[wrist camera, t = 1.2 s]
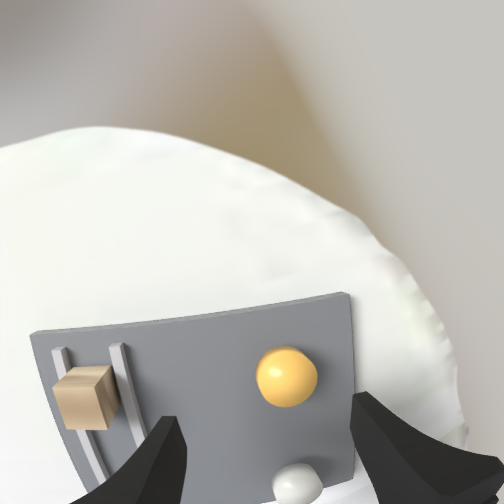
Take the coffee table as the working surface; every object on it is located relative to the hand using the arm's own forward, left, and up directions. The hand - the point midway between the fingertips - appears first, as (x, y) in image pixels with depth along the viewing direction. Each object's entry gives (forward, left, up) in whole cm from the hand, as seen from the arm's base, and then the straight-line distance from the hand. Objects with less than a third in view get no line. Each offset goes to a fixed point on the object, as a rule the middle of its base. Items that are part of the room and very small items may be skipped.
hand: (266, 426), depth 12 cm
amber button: (-1, -3, -8) cm, 9 cm away
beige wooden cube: (-1, +10, -10) cm, 14 cm away
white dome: (-11, -2, -8) cm, 14 cm away
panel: (-6, +3, -11) cm, 13 cm away
